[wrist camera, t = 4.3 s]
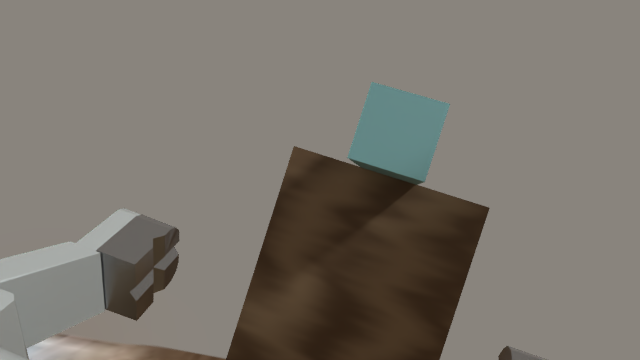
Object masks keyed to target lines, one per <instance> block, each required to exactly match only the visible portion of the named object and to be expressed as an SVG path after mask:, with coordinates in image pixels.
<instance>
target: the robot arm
mask: <svg viewBox="0 0 640 360" xmlns="http://www.w3.org/2000/svg"><path fill="white" fill-rule="evenodd" d="M178 241H179V230H178V229H177V228H175V227H172V226H170V225H168V224H165V223H163V222H160V221H157V220H155V219H152V218H150V217H147V216H144V215H140V214H138V213H135V212H133V211H130V210H128V209H125V208H124V209H119V210H117V211H116V212H115V213H113V214H112V215H111V216H110V217H108V218H107V219H106V220H104V221H103V222H102V223H101V224H100V225H98V226H97V227H96V228H94V229H93V230H92V231H90V232H89V233H88V234H87V235H86V236H84V237H83V238H82V239H80V240H79V241H78V242H76V243H73V242H66V243H62V244H58V245H54V246H50V247H47V248H42V249H39V250H35V251H31V252H27V253H23V254H19V255H15V256H11V257H8V258H3V259H0V360H29V358H28V354H27V349H26V348H28V347H30V346H32V345H35V344H37V343H39V342H41V341H43V340H45V339H47V338H49V337H51V336H54V335H56V334H58V333H60V332H62V331H64V330H66V329H68V328H70V327H73V326H75V325H77V324H79V323H81V322H83V321H85V320H87V319H90V318H92V317H94V316H96V315H98V314H100V313H102V312H104V311H105V309H106V310H109V311H111V312H114V313H117V314H120V315H122V316H125V317H128V318H131V319H133V320H136V321H137V320H138V319H139V317H140V316H141V315H142V314H143V313H144V312H145V311H146V309H147V308H148V307H149V306H150V305H151V304H152V303H153V293H155V292H158V291H161V290H163V289H165V287H166V286H167V285H168V284H169V282H170V281H171V279H172V278H173V276H174V274H175V272H176V269H177V265H178V258H179V257H178V256H179V254H178V252H177V251H176V249H175V247H174V246H175V245H176V243H178ZM499 360H547V359H543V358H541V357H538V356H535V355H532V354H529V353H526V352H523V351H521V350H518V349H515V348H512V347H509V346H506V347H505V348H504V349H503V350H502V352H501V353H500V355H499Z"/></svg>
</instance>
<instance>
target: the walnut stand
mask: <svg viewBox="0 0 640 360" xmlns="http://www.w3.org/2000/svg"><path fill="white" fill-rule="evenodd" d="M488 211H489V208H488V207H485V206H482V205H479V204H475V203H473V202H469V201H466V200H463V199H460V198H457V197H453V196H450V195H447V194H444V193H441V192H437V191H434V190H431V189H428V188H425V187H422V186H418V185H415V184H412V183H409V182H406V181H403V180H400V179H396V178H393V177H390V176H387V175H384V174H381V173H377V172H374V171H371V170H368V169H365V168H361V167H358V166H355V165H352V164H349V163H346V162H342V161H339V160H336V159H333V158H330V157H327V156H323V155H320V154H317V153H314V152H311V151H308V150H304V149H301V148H298V147H295V146H294V148H293V151H292V154H291V157H290V160H289V163H288V167H287V170H286V173H285V176H284V179H283V182H282V185H281V189H280V192H279V195H278V198H277V201H276V204H275V207H274V211H273V214H272V217H271V220H270V223H269V226H268V230H267V233H266V236H265V239H264V242H263V245H262V248H261V251H260V255H259V258H258V261H257V264H256V267H255V270H254V273H253V277H252V280H251V283H250V286H249V289H248V292H247V295H246V299H245V302H244V305H243V309H242V311H241V314H240V317H239V321H238V324H237V327H236V330H235V333H234V336H233V339H232V342H231V346H230V349H229V352H228V355H227V358H226V360H439V359H440V356H441V353H442V350H443V347H444V344H445V341H446V338H447V335H448V332H449V329H450V326H451V323H452V320H453V317H454V314H455V311H456V308H457V305H458V302H459V298H460V296H461V293H462V290H463V287H464V283H465V280H466V278H467V274H468V271H469V268H470V265H471V262H472V259H473V256H474V253H475V250H476V247H477V244H478V241H479V238H480V235H481V232H482V229H483V226H484V223H485V220H486V217H487V214H488Z"/></svg>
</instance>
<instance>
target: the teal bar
mask: <svg viewBox="0 0 640 360" xmlns="http://www.w3.org/2000/svg"><path fill="white" fill-rule="evenodd" d="M449 106H450V104H448V103H445V102H440V101H437V100H434V99H430V98H427V97H423V96H420V95H416V94H413V93H409V92H406V91H402V90H398V89H395V88H392V87H388V86H384V85H381V84H377V83H374V82H372V83H371V86H370V89H369V92H368V95H367V98H366V102H365V105H364V108H363V111H362V114H361V117H360V120H359V123H358V126H357V130H356V133H355V136H354V139H353V142H352V145H351V148H350V151H349V155H348V158H349V159H350V160H351V161H353V162H354V163H356V164H357V165H358V166H360V167H361V168H365V169H368V170H371V171H374V172H377V173H381V174H384V175H387V176H390V177H393V178H396V179H400V180H403V181H406V182H409V183H412V184H415V185H417V184H420V183H423V182H425V179H426V176H427V173H428V170H429V167H430V164H431V161H432V158H433V154H434V152H435V148H436V145H437V142H438V139H439V136H440V133H441V130H442V127H443V124H444V121H445V118H446V115H447V112H448V108H449Z"/></svg>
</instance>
